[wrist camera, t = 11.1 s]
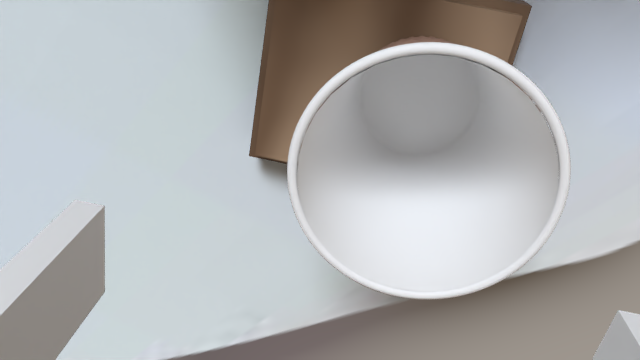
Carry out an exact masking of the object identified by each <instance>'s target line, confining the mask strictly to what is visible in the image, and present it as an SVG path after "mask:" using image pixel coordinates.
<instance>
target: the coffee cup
mask: <svg viewBox="0 0 640 360" xmlns="http://www.w3.org/2000/svg"><path fill="white" fill-rule="evenodd" d="M532 100H533V101H534V103H535V104H536V105H535V104H534V103H533V101H532ZM542 114H543V115H542ZM544 117H545V118H544ZM545 119H546V120H545ZM546 121H547V122H546ZM547 123H548V125H549V127H550V129H549V127H548V125H547ZM307 128H308V129H307ZM306 130H307V131H306ZM550 130H551V131H550ZM305 132H306V133H305ZM551 132H552V134H551ZM552 135H553V136H552ZM302 141H303V142H302ZM301 144H302V146H301ZM555 145H556V146H555ZM300 148H301V149H300ZM556 149H557V151H556ZM299 152H300V153H299ZM557 155H558V157H557ZM297 167H298V173H297ZM570 174H571V163H570V152H569V147H568V142H567V138H566V135H565V132H564V129H563V126H562V124H561V121H560V119H559V117H558V115H557V113H556V111H555V110H554V108H553V106H552V105H551V103H550V102H549V100H548V99H547V98H546V96H545V95H544V94H543V93H542V91H541V90H540V89H539V88H538V87H537V86H536V85H535V84H534V83H533V82H532V81H531V80H530V79H529V78H528V77H527V76H525V75H524V74H523V73H522V72H520V71H519V70H518V69H516V68H515V67H513V66H512V65H510V64H508V63H507V62H505V61H503V60H501V59H499V58H497V57H496V56H493V55H491V54H489V53H486V52H483V51H481V50H478V49H474V48H471V47H467V46H463V45H458V44H454V43H452V42H449V41H446V40H444V39H441V38H440V39H439V38H435V37H432V36H430V37H425V36H419V37H409V38H407V39H400V40H398V41H396V42H392V43H390V44H389V45H387V46H385V47H383V48H381V49H380V50H379V51H377V52H375V53H372V54H370V55H367V56H365V57H363V58H361V59H359V60H357V61H355V62H354V63H352V64H350V65H349V66H347V67H346V68H344V69H343V70H341V71H340V72H339V73H337V74H336V75H335V76H334V77H332V78H331V79H330V80H329V81H328V82H327V83H326V84H325V85H324V86H323V87H322V88H321V89H320V90H319V91H318V92H317V94H316V95H315V96H314V97H313V98H312V100H311V101H310V103H309V104H308V106H307V107H306V109H305V110H304V112H303V114H302V116H301V117H300V119H299V122H298V124H297V126H296V128H295V131H294V134H293V137H292V140H291V144H290V148H289V154H288V162H287V181H288V190H289V195H290V200H291V203H292V207H293V210H294V213H295V215H296V218H297V220H298V222H299V224H300V226H301V228H302V230H303V232H304V233H305V235H306V237H307V238H308V240H309V241H310V242H311V244H312V245H313V246H314V248H315V249H316V250H317V251H318V252H319V254H320V255H321V256H322V257H323V258H324V259H325V260H326V261H327V262H328V263H330V264H331V265H332V266H333V267H334V268H336V269H337V270H338V271H340V272H341V273H342V274H344V275H345V276H347V277H349V278H350V279H352V280H354V281H355V282H357V283H359V284H361V285H363V286H366V287H368V288H370V289H373V290H376V291H378V292H381V293H385V294H388V295H392V296H397V297H402V298H410V299H445V298H452V297H458V296H462V295H466V294H470V293H473V292H476V291H479V290H482V289H485V288H487V287H489V286H492V285H494V284H496V283H498V282H500V281H502V280H503V279H505V278H507V277H508V276H510V275H512V274H513V273H514V272H516V271H517V270H519V269H520V268H521V267H522V266H524V265H525V264H526V263H527V262H528V261H529V260H530V259H531V258H532V257H533V256H534V255H535V254H536V253H537V252H538V251H539V250H540V249H541V248H542V246H543V245H544V244H545V243H546V241H547V240H548V238H549V237H550V235H551V234H552V232H553V230H554V229H555V227H556V225H557V223H558V221H559V219H560V217H561V214H562V212H563V209H564V206H565V203H566V200H567V196H568V191H569V185H570ZM558 176H559V179H558ZM298 189H299V190H298Z"/></svg>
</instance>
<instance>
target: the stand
mask: <svg viewBox="0 0 640 360" xmlns="http://www.w3.org/2000/svg"><path fill="white" fill-rule="evenodd" d="M531 7H532V6H531V5H529V4H528V3H526V2H524V1H522V0H269V4H268V12H267V20H266V28H265V36H264V43H263V51H262V59H261V67H260V75H259V83H258V91H257V98H256V106H255V114H254V122H253V130H252V138H251V146H250V153H249V156H252V157H257V158H261V159H266V160H271V161H276V162H281V163H285V164H287V162H288V154H289V148H290V144H291V140H292V137H293V134H294V131H295V128H296V126H297V124H298V122H299V119H300V117H301V116H302V114H303V112H304V110H305V109H306V107H307V106H308V104H309V103H310V101H311V100H312V98H313V97H314V96H315V95H316V94H317V92H318V91H319V90H320V89H321V88H322V87H323V86H324V85H325V84H326V83H327V82H328V81H329V80H330V79H331V78H332V77H334V76H335V75H336V74H337V73H339V72H340V71H341V70H343V69H344V68H346V67H347V66H349V65H350V64H352V63H354V62H355V61H357V60H359V59H361V58H363V57H365V56H367V55H370V54H372V53H375V52H377V51H379V50H380V49H381V48H383V47H385V46H387V45H389V44H390V43H392V42H396V41H398V40H400V39H407V38H409V37H419V36H425V37H430V36H432V37H435V38H439V39H440V38H441V39H444V40H446V41H449V42H452V43H454V44H458V45H463V46H467V47H471V48H474V49H478V50H481V51H483V52H486V53H489V54H491V55H493V56H496V57H497V58H499V59H501V60H503V61H505V62H507V63H508V64H510V65H512V64H513V61H514V58H515V55H516V52H517V49H518V46H519V43H520V40H521V37H522V34H523V31H524V28H525V25H526V22H527V19H528V16H529V13H530V10H531ZM307 129H308V128H307ZM306 131H307V130H306ZM305 133H306V132H305ZM302 142H303V141H302ZM301 146H302V144H301ZM300 149H301V148H300ZM299 153H300V152H299Z"/></svg>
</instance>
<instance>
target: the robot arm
mask: <svg viewBox="0 0 640 360" xmlns="http://www.w3.org/2000/svg"><path fill="white" fill-rule="evenodd" d="M104 292H105V213H104V205H99V204H94V203H89V202H84V201H79V200H74V201H73V202H72V203H71V204H70V205H69V206H68V207H67V208H65V209H64V210H63V211H62V212H61V213H60V214H59V215H58V216H57V217H56V218H55V219H54V220H53V221H52V222H50V223H49V224H48V225H47V226H46V227H45V228H44V229H43V230H42V231H41V232H40V233H39V234H38V235H37V236H35V237H34V238H33V239H32V240H31V241H30V242H29V243H28V244H27V245H26V246H25V247H24V248H23V249H22V250H21V251H19V252H18V253H17V254H16V255H15V256H14V257H13V258H12V259H11V260H10V261H9V262H8V263H7V264H6V265H4V266H3V267H2V268H1V269H0V360H55V359H56V358H57V357H58V355H59V354H60V352H61V351H62V350H63V348H64V347H65V346H66V344H67V343H68V341H69V340H70V339H71V337H72V336H73V335H74V333H75V332H76V331H77V329H78V328H79V326H80V325H81V324H82V322H83V321H84V320H85V318H86V317H87V315H88V314H89V313H90V311H91V310H92V309H93V307H94V306H95V305H96V303H97V302H98V300H99V299H100V298H101V296H102V295H103V294H104ZM592 360H640V314H635V313H630V312H625V311H620V310H618V311H617V313H616V315H615V317H614V319H613V321H612V323H611V325H610V327H609V328H608V330H607V332H606V334H605V336H604V338H603V340H602V342H601V344H600V346H599V347H598V349H597V351H596V353H595V355H594V357H593V359H592Z"/></svg>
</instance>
